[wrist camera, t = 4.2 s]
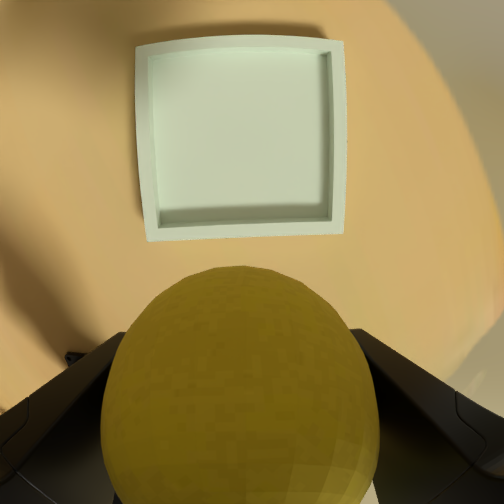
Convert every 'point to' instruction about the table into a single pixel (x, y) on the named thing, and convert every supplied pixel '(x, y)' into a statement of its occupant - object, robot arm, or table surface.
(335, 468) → the lemon
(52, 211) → the table surface
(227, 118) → the dish
